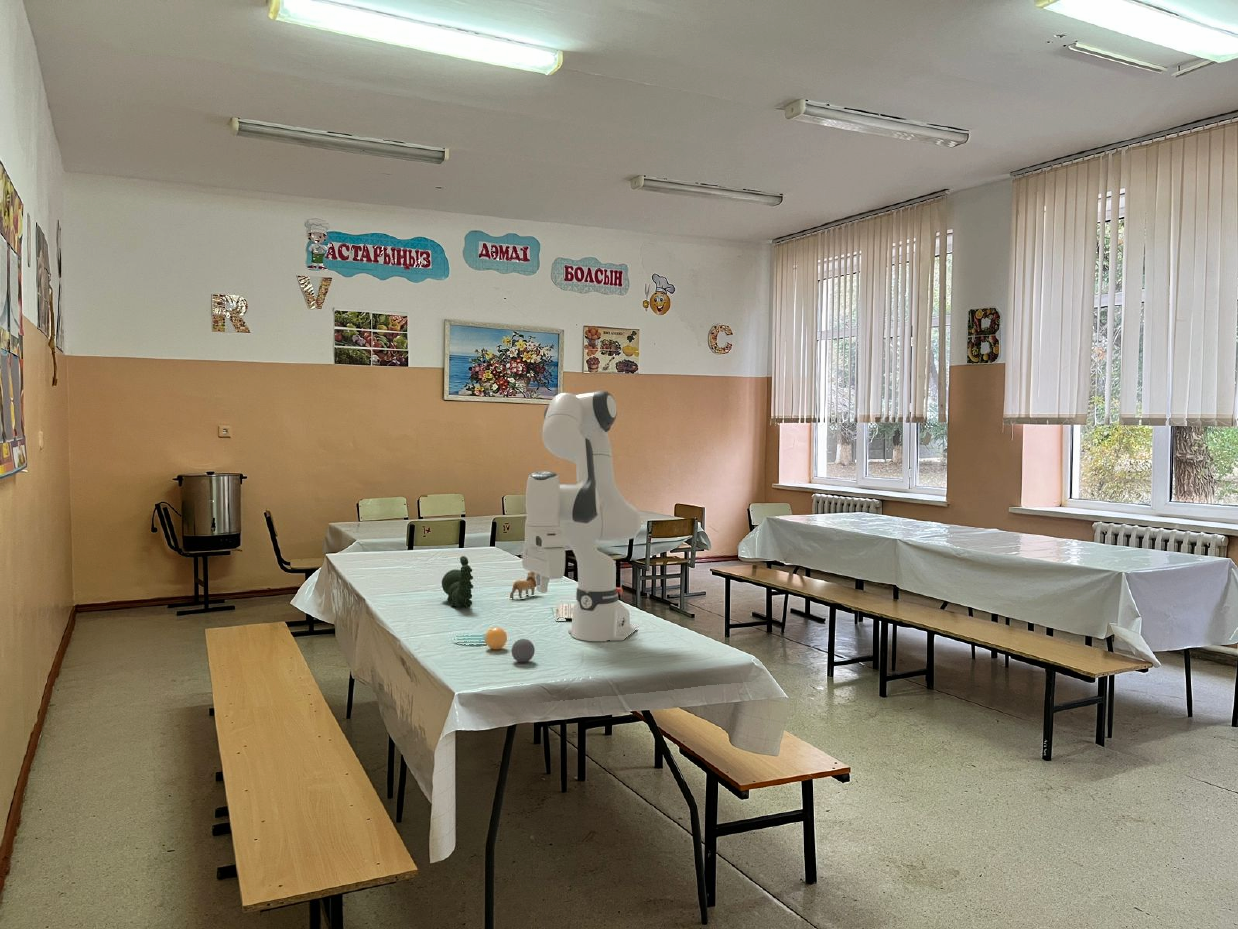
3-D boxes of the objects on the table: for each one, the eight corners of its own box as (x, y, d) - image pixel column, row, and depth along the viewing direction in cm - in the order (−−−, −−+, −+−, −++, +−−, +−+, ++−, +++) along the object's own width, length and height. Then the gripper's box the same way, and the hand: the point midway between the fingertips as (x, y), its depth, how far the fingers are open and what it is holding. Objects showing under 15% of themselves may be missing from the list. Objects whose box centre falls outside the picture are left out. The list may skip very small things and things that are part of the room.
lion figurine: (529, 593, 306) (529, 569, 306) (541, 595, 304) (541, 570, 303) (505, 600, 293) (506, 575, 293) (518, 602, 291) (518, 576, 291)
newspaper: (551, 609, 284) (551, 601, 284) (586, 613, 285) (587, 605, 285) (549, 624, 262) (550, 616, 262) (588, 628, 262) (589, 620, 262)
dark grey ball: (520, 657, 221) (520, 635, 220) (538, 661, 218) (539, 638, 217) (506, 663, 215) (506, 640, 215) (525, 666, 212) (525, 643, 212)
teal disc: (472, 631, 248) (472, 630, 248) (510, 638, 241) (510, 637, 241) (441, 641, 236) (441, 640, 236) (480, 648, 229) (480, 648, 229)
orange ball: (493, 645, 233) (494, 624, 233) (511, 648, 230) (511, 626, 230) (480, 650, 228) (480, 628, 227) (498, 653, 225) (498, 631, 224)
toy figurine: (479, 615, 277) (463, 594, 300) (481, 559, 275) (465, 542, 298) (451, 617, 274) (437, 595, 296) (453, 560, 271) (438, 543, 294)
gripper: (516, 533, 216) (515, 586, 216) (545, 541, 197) (544, 599, 198) (539, 532, 218) (538, 584, 219) (570, 540, 200) (569, 597, 200)
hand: (541, 592), depth 208 cm, fingers closed
